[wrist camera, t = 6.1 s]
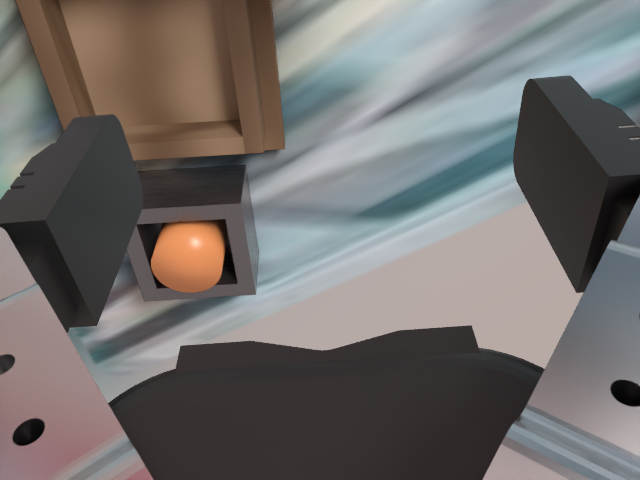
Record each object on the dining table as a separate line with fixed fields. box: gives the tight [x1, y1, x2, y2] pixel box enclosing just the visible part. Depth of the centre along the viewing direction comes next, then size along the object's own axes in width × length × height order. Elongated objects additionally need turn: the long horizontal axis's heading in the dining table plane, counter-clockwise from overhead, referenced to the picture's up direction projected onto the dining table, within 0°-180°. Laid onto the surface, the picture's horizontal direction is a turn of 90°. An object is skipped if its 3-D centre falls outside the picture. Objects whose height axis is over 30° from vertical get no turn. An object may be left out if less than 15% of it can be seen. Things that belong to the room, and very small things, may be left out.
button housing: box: [127, 165, 259, 301], centre depth 34 cm, size 7×7×4 cm
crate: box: [15, 0, 285, 160], centre depth 28 cm, size 12×12×3 cm
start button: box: [151, 219, 227, 293], centre depth 33 cm, size 4×4×3 cm
